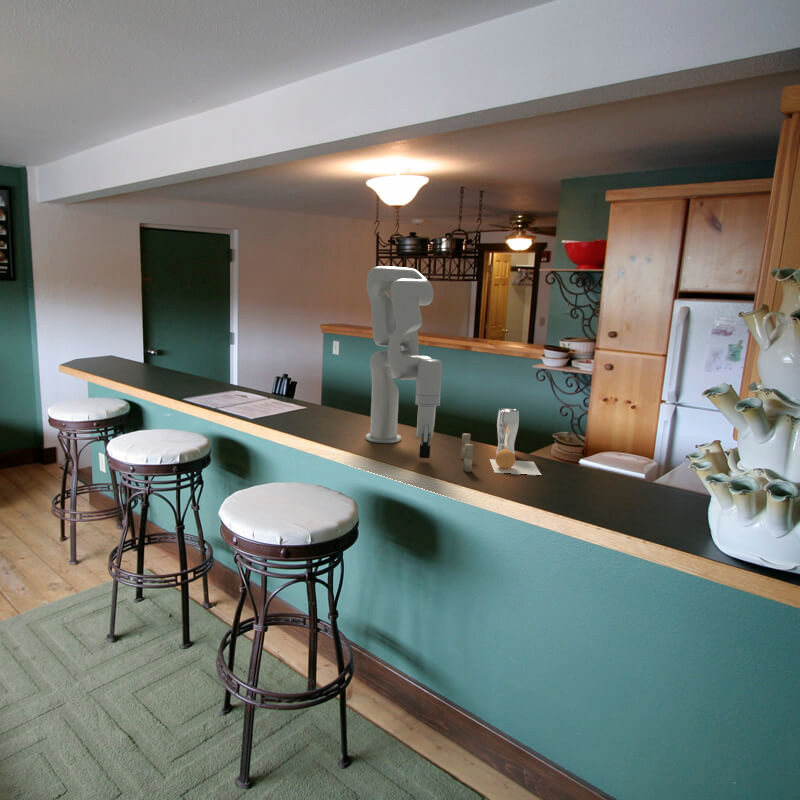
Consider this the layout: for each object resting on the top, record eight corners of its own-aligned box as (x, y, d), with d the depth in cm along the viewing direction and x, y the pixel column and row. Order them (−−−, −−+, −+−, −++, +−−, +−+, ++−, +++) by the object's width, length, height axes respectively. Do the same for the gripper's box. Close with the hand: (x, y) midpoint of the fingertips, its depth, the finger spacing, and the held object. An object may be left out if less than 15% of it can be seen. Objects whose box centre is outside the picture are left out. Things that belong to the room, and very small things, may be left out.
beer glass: (500, 457, 186) (503, 412, 184) (491, 451, 193) (494, 408, 190) (519, 456, 188) (523, 412, 185) (510, 450, 195) (513, 408, 192)
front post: (462, 469, 171) (464, 443, 170) (471, 469, 171) (473, 444, 170) (463, 471, 169) (464, 445, 167) (471, 472, 169) (473, 446, 167)
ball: (511, 444, 175) (518, 461, 176) (492, 450, 177) (500, 468, 178) (510, 449, 170) (518, 467, 170) (492, 456, 171) (499, 474, 172)
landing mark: (489, 459, 183) (489, 459, 183) (533, 462, 182) (533, 461, 182) (494, 472, 169) (494, 472, 169) (541, 475, 169) (541, 475, 168)
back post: (460, 457, 184) (462, 433, 183) (468, 457, 184) (470, 433, 183) (461, 459, 182) (462, 435, 180) (469, 459, 182) (470, 435, 180)
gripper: (416, 394, 181) (413, 450, 184) (414, 403, 166) (411, 463, 170) (439, 395, 181) (436, 451, 184) (440, 404, 166) (436, 465, 169)
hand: (424, 457), depth 177 cm, fingers closed
